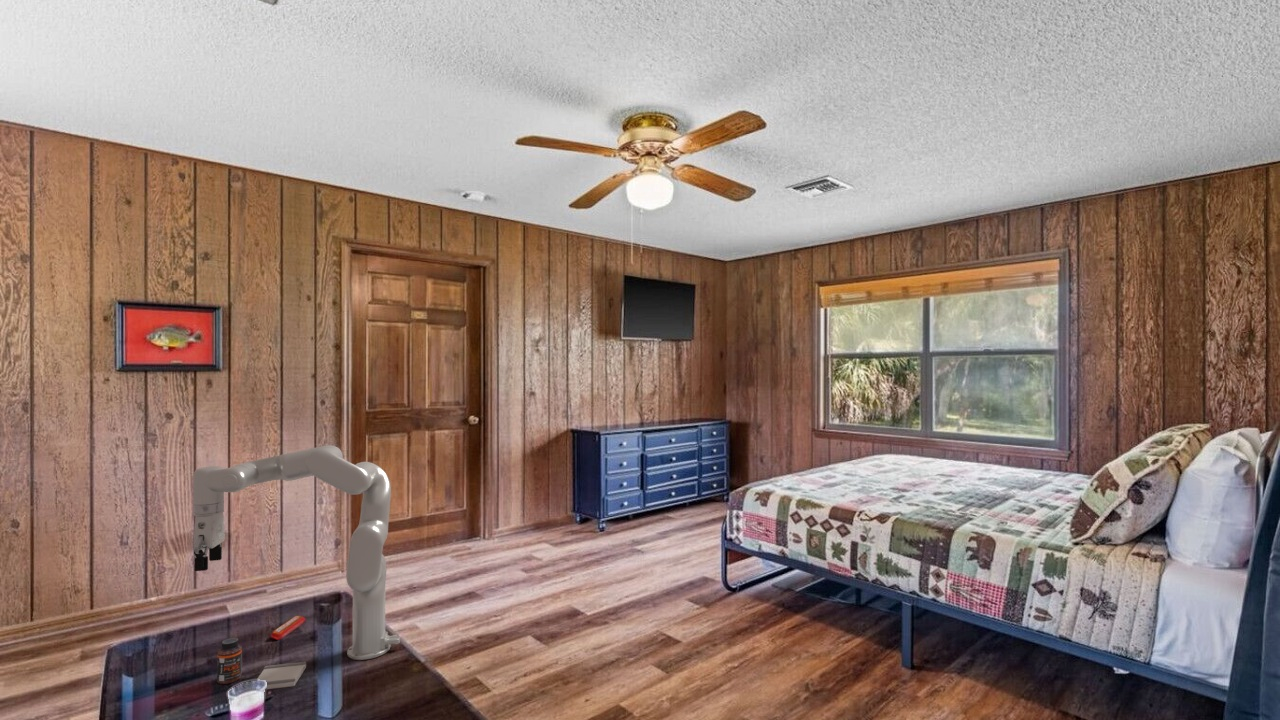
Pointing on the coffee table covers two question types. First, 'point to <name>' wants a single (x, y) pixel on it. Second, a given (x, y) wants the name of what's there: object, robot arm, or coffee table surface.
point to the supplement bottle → (229, 661)
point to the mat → (282, 674)
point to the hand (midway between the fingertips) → (208, 565)
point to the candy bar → (287, 627)
